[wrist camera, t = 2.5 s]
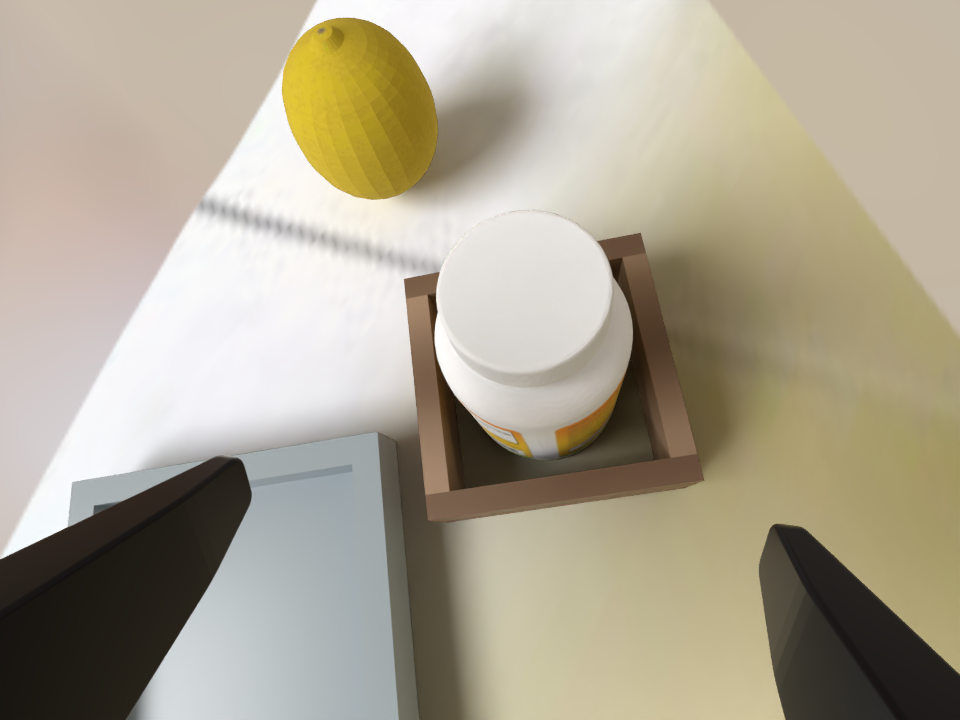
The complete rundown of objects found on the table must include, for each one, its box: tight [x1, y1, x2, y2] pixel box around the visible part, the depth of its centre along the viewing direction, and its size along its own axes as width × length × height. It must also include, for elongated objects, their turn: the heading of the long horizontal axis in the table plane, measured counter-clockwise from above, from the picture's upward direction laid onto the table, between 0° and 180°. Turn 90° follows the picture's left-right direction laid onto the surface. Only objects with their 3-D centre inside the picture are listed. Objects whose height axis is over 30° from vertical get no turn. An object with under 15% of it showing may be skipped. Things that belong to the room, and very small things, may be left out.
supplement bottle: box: [435, 210, 633, 460], centre depth 17 cm, size 5×5×10 cm
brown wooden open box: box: [404, 233, 704, 522], centre depth 20 cm, size 9×9×3 cm
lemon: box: [282, 18, 438, 200], centre depth 22 cm, size 6×6×8 cm
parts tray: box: [68, 432, 419, 720], centre depth 19 cm, size 12×12×2 cm
